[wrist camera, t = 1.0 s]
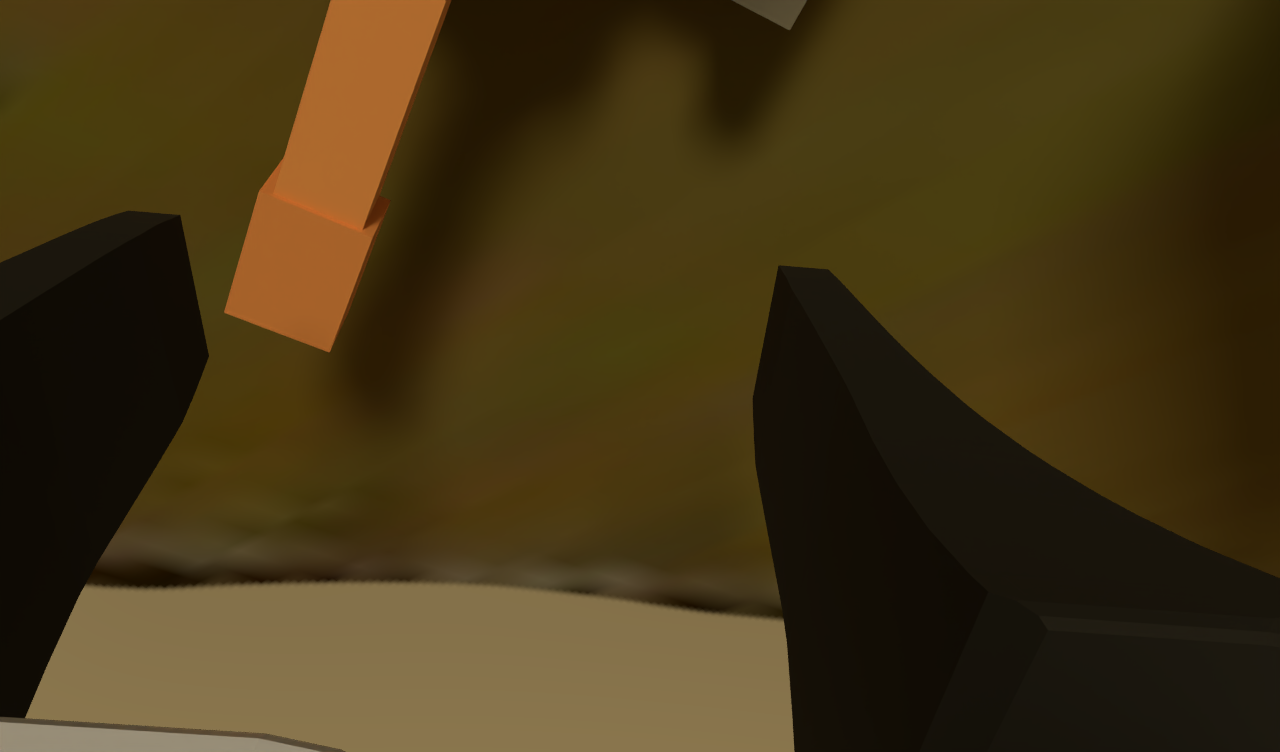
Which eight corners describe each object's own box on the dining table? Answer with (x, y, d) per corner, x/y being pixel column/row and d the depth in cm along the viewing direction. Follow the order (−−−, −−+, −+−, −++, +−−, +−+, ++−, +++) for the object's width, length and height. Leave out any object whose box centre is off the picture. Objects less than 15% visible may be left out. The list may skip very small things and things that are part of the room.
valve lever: (440, -456, 13) (407, -472, 11) (624, -343, 13) (620, -343, 12) (235, 259, 19) (195, 317, 17) (368, 312, 19) (342, 372, 18)
